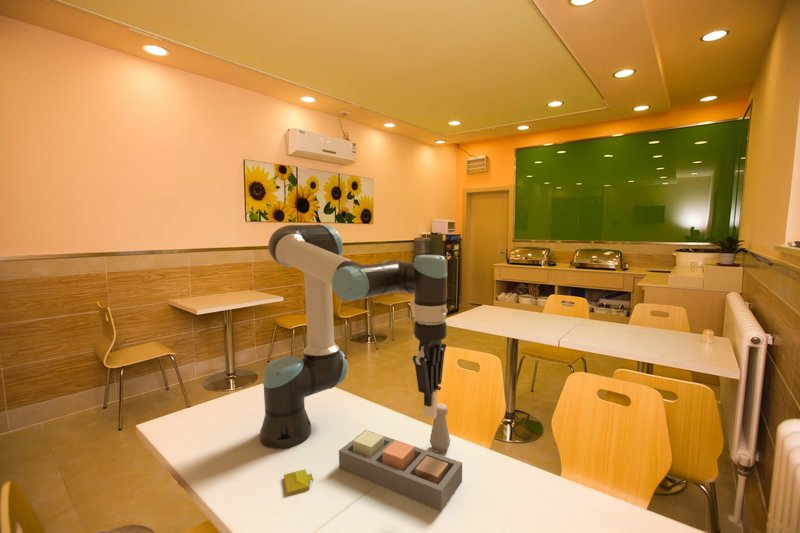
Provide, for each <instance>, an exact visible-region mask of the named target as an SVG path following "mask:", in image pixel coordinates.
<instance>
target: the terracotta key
mask: <svg viewBox="0 0 800 533" xmlns="http://www.w3.org/2000/svg"><path fill="white" fill-rule="evenodd" d="M394 440H395V441H394V442H393V443H391V444H390V445H389V446H388V447H387V448H386V449H385V450H384V451H382V455H383V464H386V465H388V466H391V467H394V468H396V469H399V470H401V471H403V470H404V469H405V468H406V467H407V466H408V465H409V464H410V463H411V462H412V461H413V460H414V459H415V447H416V446H415V445H412V444H409V443H406V444H405V442H403V443H402V441H400V442H399V440H397V439H394ZM396 440H397V441H396ZM408 444H409V445H408ZM411 445H412V446H411ZM414 446H415V447H414Z"/></svg>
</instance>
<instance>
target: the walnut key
mask: <svg viewBox="0 0 800 533" xmlns="http://www.w3.org/2000/svg"><path fill="white" fill-rule="evenodd" d="M447 473H448V463H446V462H443V461H440V460H438V459H435V458H432V457H429V456H426V457H425V458H424V459H423V461H422V462H421V463H420V464H419V465H418V466H417V467H416V468H415V476H417V477H419V478H422V479H425V480H427V481H430V482H432V483H435V484H437V485H439V483H440V482H441V481H442V479H443V478H444V477H445V475H446V474H447Z"/></svg>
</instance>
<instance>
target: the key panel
mask: <svg viewBox="0 0 800 533" xmlns="http://www.w3.org/2000/svg"><path fill="white" fill-rule="evenodd" d="M366 430H367V429H366ZM366 430H364V431H362V433H364V432H365V431H366ZM367 431H370V432H373V433H376V432H374V431H371V430H367ZM362 433H360V434H359V435H357V436H356V437H355V438H353V439H352V440H351V441H350V442H348V443H347V444H346V445H344V446H343V447H341V448H340V449H339V450H338V468H339V469H340V470H343V471H344V472H347V473H349V474H351V475H354V476H357V477H359V478H361V479H364V480H366V481H368V482H370V483H372V484H375V485H377V486H380V487H382V488H384V489H387V490H389V491H392V492H394V493H396V494H399V495H401V496H403V497H406V498H408V499H411V500H413V501H415V502H417V503H420V504H422V505H425V506H427V507H429V508H431V509H433V510H436V511H439V512H442V511H443V510H444V509H445V507H446V505H447V504H448V503H449V501H450V500H451V498H452V497H453V496H454V494H455V493H456V491H457V489H459V487H460V485H461V483H462V482H463V462H461V461H459V460H455V459H452V458H449V457H447V456H444V455H441V454H438V453H436V452H435V453H434V452H432V451H430V450H427V449H423V448H420V447H418V446H415V445H412V444H410V443H405V442H402V441H399V440H397V439H395V438H391V437H388V436H385V435H382V434H380V433H376V434H379V435H381V436H384V447H383V448H382V449H381V450H380V451H378V452H377V453H376V454H375V455H374V456H373V457H372V458H368V457H365V456H363V455H360V454H357V453H355V452H353V440H354V439H356V438H357V437H358V436H360V435H361V434H362ZM395 440H396V441H399V442H402V443H405V444H408V445H411V446H414V447H415V459H414V460H413V461H412V462H411V463H410V464H409V465H408V466H407V467H406V468H405V469H404V470H403V471H401V470H399V469H396V468H394V467H391V466H388V465H386V464H383V455H382V451H384V450H385V449H386V448H387V447H388V446H389V445H390V444H391V443H393V442H394V441H395ZM426 456H429V457H432V458H435V459H438V460H440V461H443V462H446V463H448V473H447V474H446V475H445V477H444V478H443V479H442V481H441V482H440V483H439V485H437V484H435V483H432V482H430V481H427V480H425V479H422V478H419V477H417V476H415V468H416V467H417V466H418V465H419V464H420V463H421V462H422V461H423V459H424V458H425V457H426Z"/></svg>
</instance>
